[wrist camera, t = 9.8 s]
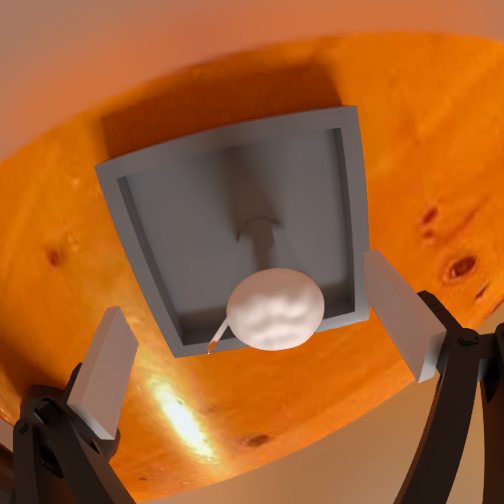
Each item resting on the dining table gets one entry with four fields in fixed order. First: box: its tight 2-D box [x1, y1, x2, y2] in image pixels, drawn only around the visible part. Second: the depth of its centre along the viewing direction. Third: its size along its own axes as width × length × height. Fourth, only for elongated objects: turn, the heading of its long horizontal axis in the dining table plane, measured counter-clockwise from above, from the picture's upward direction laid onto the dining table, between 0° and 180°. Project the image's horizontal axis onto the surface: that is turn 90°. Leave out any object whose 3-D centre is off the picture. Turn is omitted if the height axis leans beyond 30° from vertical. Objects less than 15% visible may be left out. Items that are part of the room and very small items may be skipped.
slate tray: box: [94, 105, 369, 358], centre depth 21 cm, size 16×16×2 cm
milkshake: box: [207, 218, 324, 354], centre depth 17 cm, size 5×5×10 cm
